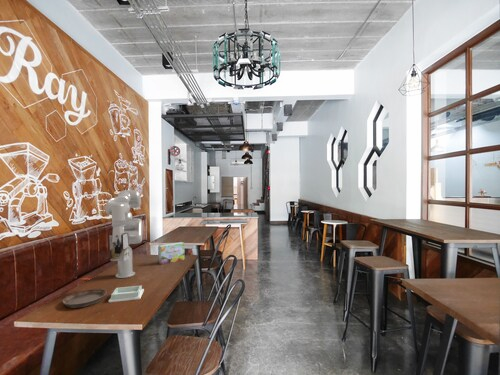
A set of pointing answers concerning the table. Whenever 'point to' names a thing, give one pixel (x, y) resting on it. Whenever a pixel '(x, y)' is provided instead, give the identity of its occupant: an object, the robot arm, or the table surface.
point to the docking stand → (126, 293)
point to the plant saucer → (84, 298)
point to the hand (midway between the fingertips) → (119, 251)
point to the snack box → (170, 253)
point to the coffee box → (124, 248)
